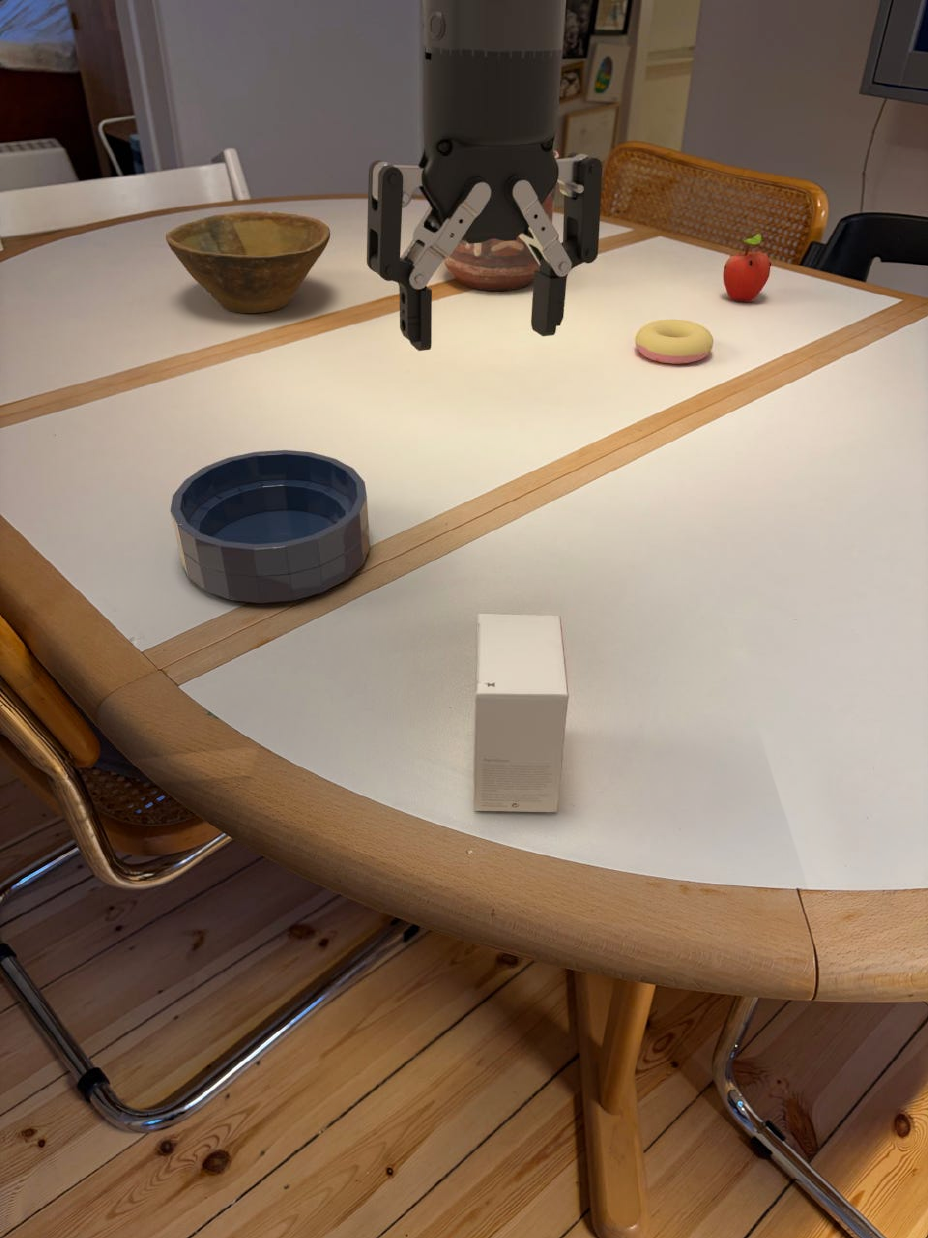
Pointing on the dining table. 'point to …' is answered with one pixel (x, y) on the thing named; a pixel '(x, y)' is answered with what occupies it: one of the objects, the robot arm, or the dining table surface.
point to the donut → (674, 341)
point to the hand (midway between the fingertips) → (482, 339)
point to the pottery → (497, 260)
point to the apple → (746, 273)
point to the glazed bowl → (271, 525)
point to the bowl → (250, 256)
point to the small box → (519, 712)
